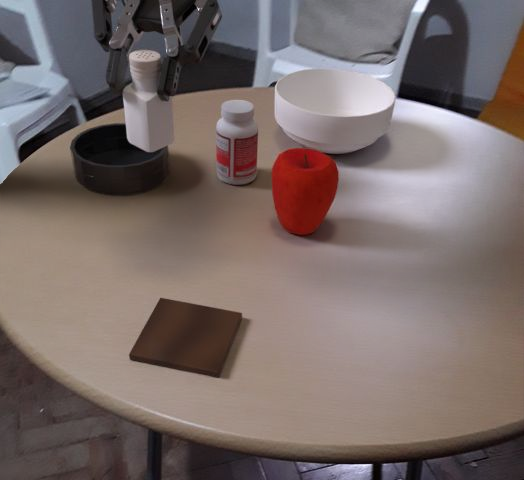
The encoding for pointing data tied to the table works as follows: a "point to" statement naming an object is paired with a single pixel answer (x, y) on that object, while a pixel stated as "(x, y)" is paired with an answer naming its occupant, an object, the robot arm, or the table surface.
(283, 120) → the bowl
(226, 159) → the pill bottle
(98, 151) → the pan
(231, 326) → the coaster
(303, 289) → the table surface
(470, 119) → the table surface
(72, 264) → the table surface
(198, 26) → the robot arm
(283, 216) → the apple
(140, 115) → the salt shaker
